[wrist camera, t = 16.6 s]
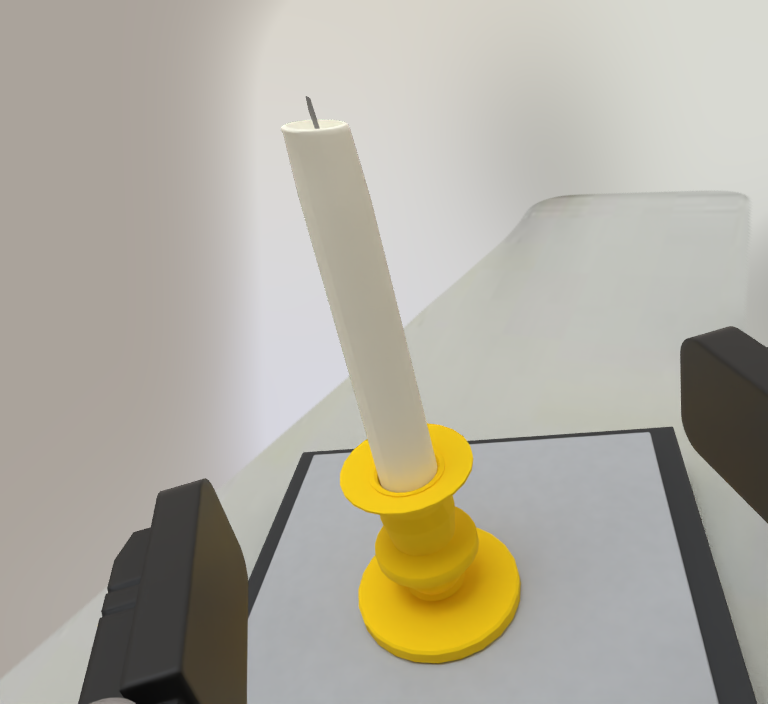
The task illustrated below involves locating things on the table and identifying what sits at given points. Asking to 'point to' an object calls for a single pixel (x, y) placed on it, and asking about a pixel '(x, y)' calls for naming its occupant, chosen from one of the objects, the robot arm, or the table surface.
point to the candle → (396, 432)
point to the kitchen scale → (537, 593)
